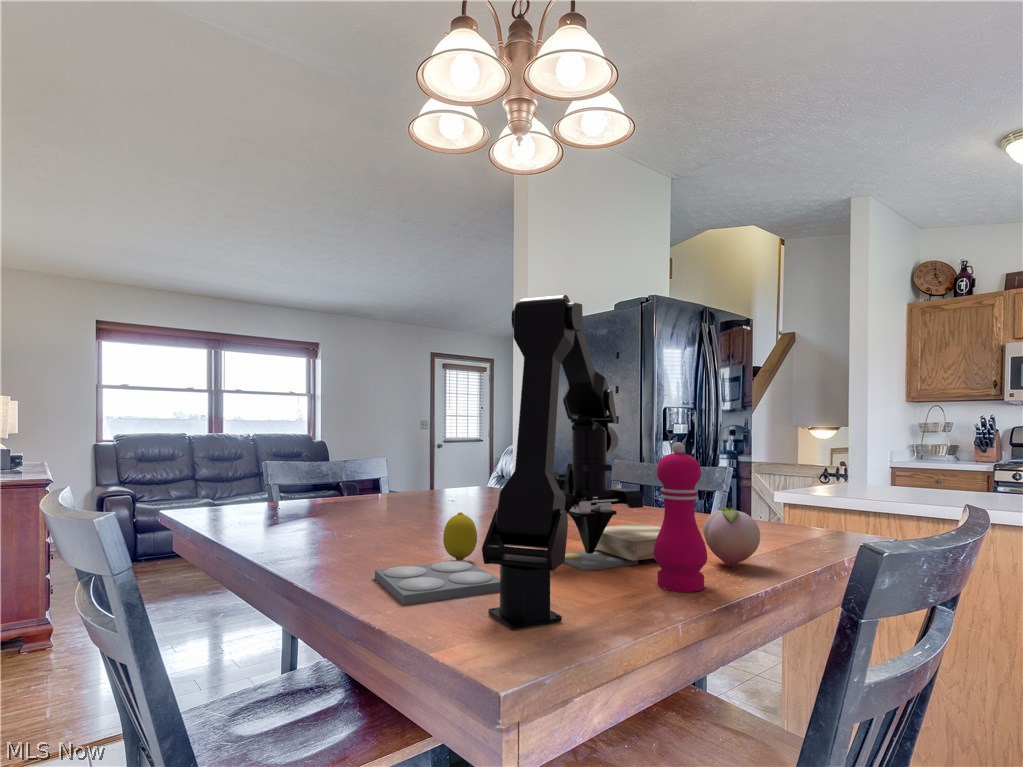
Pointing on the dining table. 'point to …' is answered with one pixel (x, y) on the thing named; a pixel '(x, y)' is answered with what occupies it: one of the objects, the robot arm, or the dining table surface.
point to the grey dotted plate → (596, 560)
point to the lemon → (460, 536)
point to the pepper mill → (679, 524)
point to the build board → (436, 581)
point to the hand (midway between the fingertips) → (589, 553)
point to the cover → (629, 541)
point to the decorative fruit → (731, 535)
